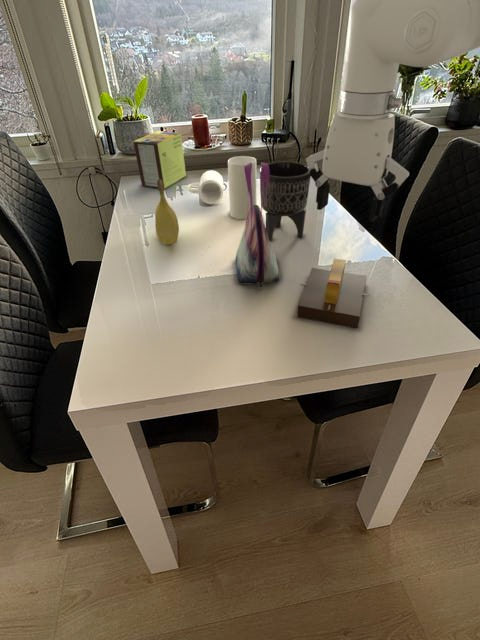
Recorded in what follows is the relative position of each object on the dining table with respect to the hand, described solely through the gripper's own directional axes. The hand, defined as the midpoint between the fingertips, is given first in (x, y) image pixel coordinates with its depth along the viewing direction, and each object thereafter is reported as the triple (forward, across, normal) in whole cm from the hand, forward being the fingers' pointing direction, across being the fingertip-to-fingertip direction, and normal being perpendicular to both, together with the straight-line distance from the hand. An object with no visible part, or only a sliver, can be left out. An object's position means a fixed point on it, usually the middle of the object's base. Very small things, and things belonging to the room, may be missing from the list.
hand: (347, 213), depth 67 cm
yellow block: (+17, 0, 0) cm, 17 cm away
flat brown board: (+20, 0, 0) cm, 20 cm away
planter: (+20, +25, -22) cm, 40 cm away
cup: (+20, +43, -28) cm, 55 cm away
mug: (+20, +60, -31) cm, 71 cm away
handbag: (+20, +20, -2) cm, 29 cm away
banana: (+20, +50, -2) cm, 54 cm away
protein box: (+20, +86, -37) cm, 96 cm away
